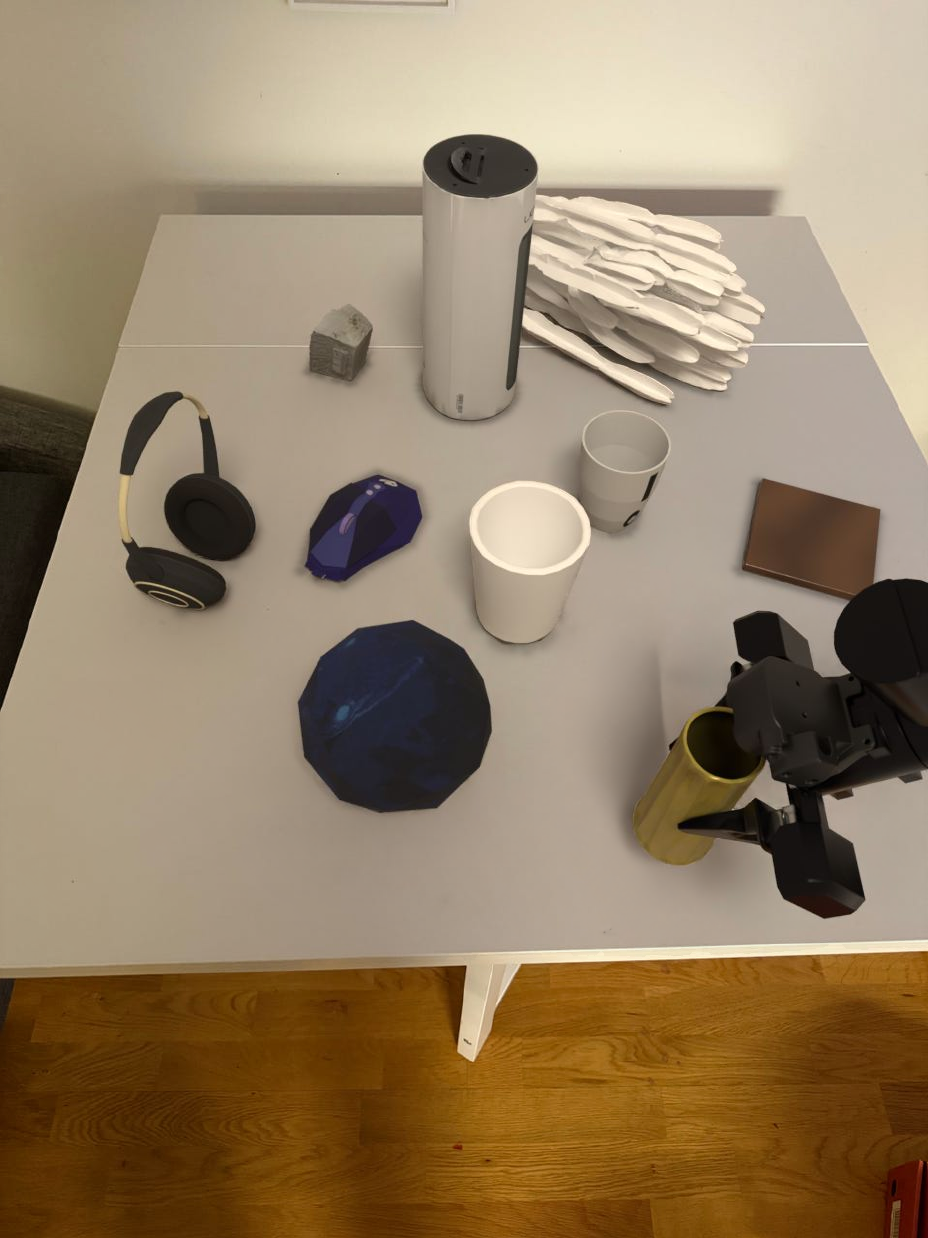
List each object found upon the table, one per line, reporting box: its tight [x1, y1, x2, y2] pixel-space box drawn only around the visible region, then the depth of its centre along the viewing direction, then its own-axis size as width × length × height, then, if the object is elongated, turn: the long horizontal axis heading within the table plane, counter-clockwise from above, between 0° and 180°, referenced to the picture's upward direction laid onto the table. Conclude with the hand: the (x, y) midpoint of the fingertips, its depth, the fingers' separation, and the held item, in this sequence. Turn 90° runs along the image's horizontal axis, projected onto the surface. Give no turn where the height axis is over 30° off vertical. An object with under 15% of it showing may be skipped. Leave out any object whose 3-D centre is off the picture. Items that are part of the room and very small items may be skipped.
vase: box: [632, 706, 767, 867], centre depth 59 cm, size 6×6×14 cm
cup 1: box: [468, 480, 592, 645], centre depth 75 cm, size 10×10×13 cm
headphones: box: [117, 390, 257, 611], centre depth 73 cm, size 9×15×20 cm, turn 165°
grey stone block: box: [308, 303, 374, 382], centre depth 94 cm, size 7×9×8 cm
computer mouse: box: [304, 474, 423, 583], centre depth 83 cm, size 9×15×4 cm, turn 152°
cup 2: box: [578, 409, 672, 533], centre depth 83 cm, size 8×8×10 cm
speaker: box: [421, 133, 540, 422], centre depth 86 cm, size 11×10×26 cm
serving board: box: [741, 477, 881, 601], centre depth 86 cm, size 12×12×1 cm
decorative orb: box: [297, 619, 493, 814], centre depth 66 cm, size 14×15×15 cm
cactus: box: [522, 194, 766, 405], centre depth 96 cm, size 17×18×35 cm
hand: (675, 788), depth 59 cm, fingers closed on vase, 5 cm apart
